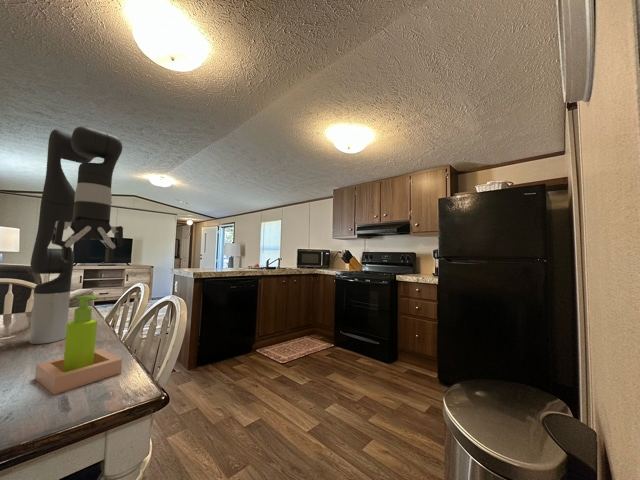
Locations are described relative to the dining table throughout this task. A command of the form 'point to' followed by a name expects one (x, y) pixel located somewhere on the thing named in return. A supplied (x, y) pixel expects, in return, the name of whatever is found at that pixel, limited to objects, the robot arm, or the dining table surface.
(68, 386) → the tray
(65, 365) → the green pump bottle
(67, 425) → the dining table surface
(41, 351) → the dining table surface
